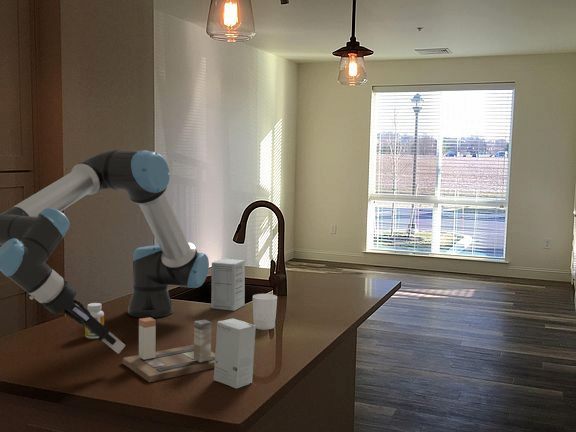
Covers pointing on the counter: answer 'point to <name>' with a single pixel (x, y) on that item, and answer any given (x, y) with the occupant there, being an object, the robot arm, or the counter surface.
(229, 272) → the supplement box
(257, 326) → the white cup
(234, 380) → the skincare box
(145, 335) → the tab
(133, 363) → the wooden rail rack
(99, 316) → the supplement bottle
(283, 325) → the counter surface
